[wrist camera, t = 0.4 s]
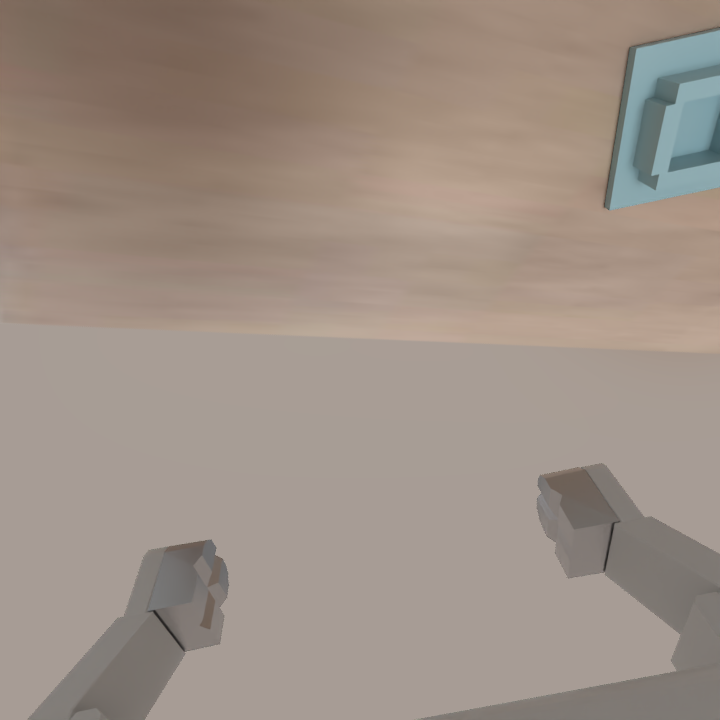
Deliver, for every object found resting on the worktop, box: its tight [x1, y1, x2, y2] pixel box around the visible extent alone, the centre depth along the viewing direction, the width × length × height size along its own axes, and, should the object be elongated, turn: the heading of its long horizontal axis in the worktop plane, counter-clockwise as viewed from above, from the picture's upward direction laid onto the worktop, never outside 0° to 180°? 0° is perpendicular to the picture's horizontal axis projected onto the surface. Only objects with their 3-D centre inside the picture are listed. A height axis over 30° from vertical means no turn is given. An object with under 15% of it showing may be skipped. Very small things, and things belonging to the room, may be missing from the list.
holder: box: [604, 28, 720, 210], centre depth 42 cm, size 14×12×4 cm
